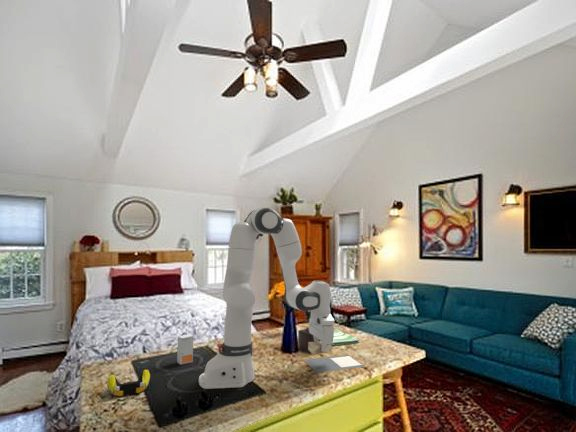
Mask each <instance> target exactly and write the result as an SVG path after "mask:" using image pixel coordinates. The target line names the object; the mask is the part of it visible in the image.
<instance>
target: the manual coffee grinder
mask: <svg viewBox="0 0 576 432" xmlns="http://www.w3.org/2000/svg"><path fill="white" fill-rule="evenodd" d="M303 312H304V316H305V320H304V322H307V323H309V320H310V318H311V310H310V311H303ZM297 332H298V334H297V335H298V336H297V337H298V341H297V342H298V349H299V350H301V351H302V352H307V353H310V354H312V353H311V352H310V351H309V350H308V342H314V337H313V336H314V335H312V334H311V333H310V332H309V326H308V327H307V328H304V329H300V330H298V331H297ZM318 340H319V339H318ZM319 341H321V340H319Z"/></svg>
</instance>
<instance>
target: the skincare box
mask: <svg viewBox="0 0 576 432" xmlns="http://www.w3.org/2000/svg"><path fill="white" fill-rule="evenodd" d="M176 348H177V350H176V351H177V352H176V355H177V357H176V358H177V359H176V363H177V364H179V365H181V366H182V365H185V364H190V363H193V362H194V359H193V358H194V335H192V334H191V333H187V334H181V335H177V347H176Z"/></svg>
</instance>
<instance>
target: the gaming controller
mask: <svg viewBox="0 0 576 432" xmlns="http://www.w3.org/2000/svg"><path fill="white" fill-rule="evenodd" d="M150 379H151V374H150V371H149V369H144V370H143V371H142V372H141V374H140V377H139V379H138V380H137V381H135V380H134V381H128V382H123V383H120V382H119V380H118V379H117V377H116V376H115V375H114V374H111V375H109V376H108V378H107V381H106V386H107V388H108V391H109V393H110V394H111V395H112V396H114V397H116V396H117V397H122V396H127V395H128V396H129V395H133V394H139V393H141V392H143V391H145V390H146V389H147V388H148V386H149V384H150Z"/></svg>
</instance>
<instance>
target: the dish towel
mask: <svg viewBox="0 0 576 432" xmlns="http://www.w3.org/2000/svg"><path fill="white" fill-rule="evenodd" d="M358 343H359V344H360V339H359V338H357V337H356V336H353V335H351V334H347V333H344V332H343V331H341V330H340V329H339V328H337V329H334V338H333V342H332V346H343V345H352V344H358Z"/></svg>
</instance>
